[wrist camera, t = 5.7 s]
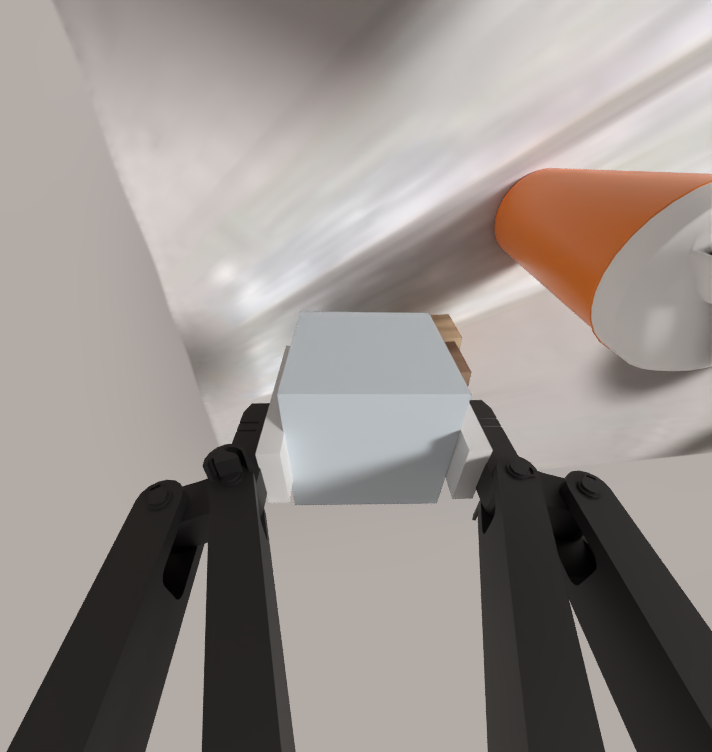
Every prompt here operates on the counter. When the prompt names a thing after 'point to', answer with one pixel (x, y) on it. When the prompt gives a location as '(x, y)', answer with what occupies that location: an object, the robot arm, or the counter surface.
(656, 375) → the counter surface
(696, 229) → the shaker bottle
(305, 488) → the grey-blue cube
